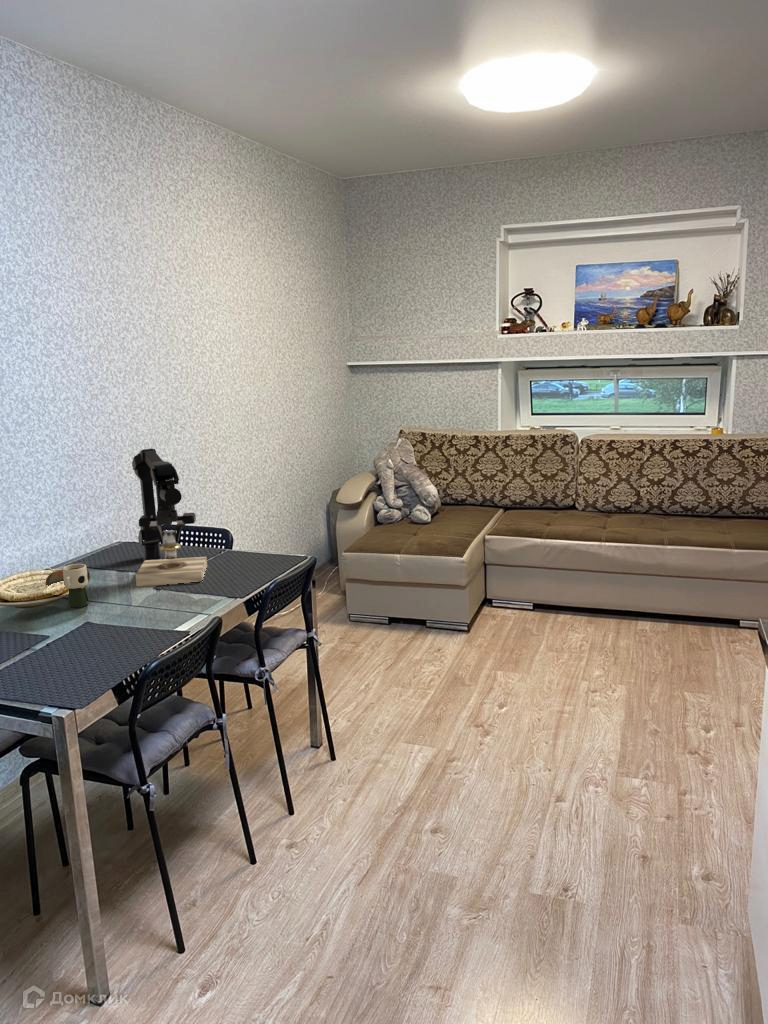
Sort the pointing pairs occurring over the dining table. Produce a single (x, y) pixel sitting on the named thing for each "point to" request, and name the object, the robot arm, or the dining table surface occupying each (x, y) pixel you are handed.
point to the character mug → (76, 584)
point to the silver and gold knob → (169, 544)
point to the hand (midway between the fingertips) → (169, 543)
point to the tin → (59, 577)
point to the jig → (171, 571)
